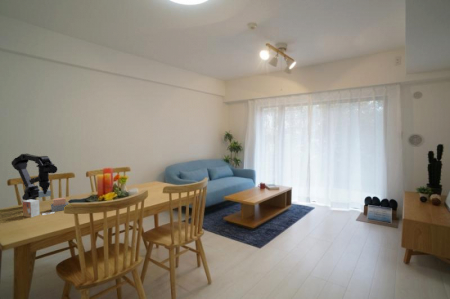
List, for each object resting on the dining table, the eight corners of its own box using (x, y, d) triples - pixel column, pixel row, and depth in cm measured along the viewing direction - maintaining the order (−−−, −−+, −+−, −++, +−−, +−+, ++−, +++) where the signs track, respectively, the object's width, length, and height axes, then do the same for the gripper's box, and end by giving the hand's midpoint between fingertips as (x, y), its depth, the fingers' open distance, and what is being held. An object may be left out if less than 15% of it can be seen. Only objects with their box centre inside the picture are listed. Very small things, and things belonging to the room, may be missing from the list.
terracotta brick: (53, 204, 169) (53, 198, 169) (64, 202, 174) (64, 197, 173) (53, 205, 165) (53, 200, 165) (65, 204, 170) (65, 198, 170)
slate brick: (38, 196, 172) (38, 191, 172) (50, 194, 177) (50, 189, 177) (39, 197, 169) (38, 192, 169) (51, 195, 174) (50, 190, 173)
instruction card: (41, 213, 161) (41, 213, 161) (54, 211, 165) (54, 211, 165) (42, 215, 157) (42, 215, 157) (54, 213, 162) (54, 212, 162)
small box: (22, 216, 156) (21, 201, 155) (31, 213, 161) (31, 198, 160) (31, 217, 153) (30, 202, 153) (40, 214, 159) (39, 199, 158)
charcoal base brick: (50, 209, 169) (50, 204, 169) (67, 206, 176) (67, 201, 176) (51, 212, 163) (51, 206, 163) (68, 209, 170) (68, 204, 170)
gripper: (29, 172, 174) (30, 192, 175) (29, 175, 160) (30, 197, 161) (48, 171, 181) (49, 190, 182) (49, 173, 167) (50, 195, 168)
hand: (44, 193), depth 173 cm, fingers closed on slate brick, 5 cm apart
